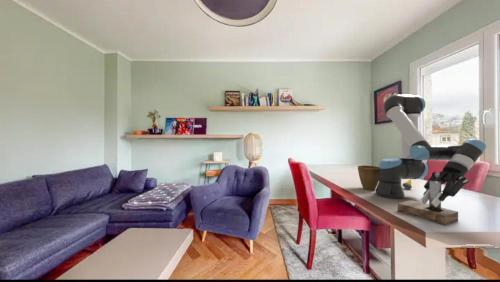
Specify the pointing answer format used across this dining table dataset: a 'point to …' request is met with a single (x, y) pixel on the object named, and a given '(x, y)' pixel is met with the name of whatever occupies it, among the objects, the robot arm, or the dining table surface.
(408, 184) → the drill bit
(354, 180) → the dining table surface
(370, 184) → the plant pot
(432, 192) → the metal peg
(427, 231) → the dining table surface
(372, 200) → the dining table surface
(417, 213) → the tool block
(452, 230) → the dining table surface
